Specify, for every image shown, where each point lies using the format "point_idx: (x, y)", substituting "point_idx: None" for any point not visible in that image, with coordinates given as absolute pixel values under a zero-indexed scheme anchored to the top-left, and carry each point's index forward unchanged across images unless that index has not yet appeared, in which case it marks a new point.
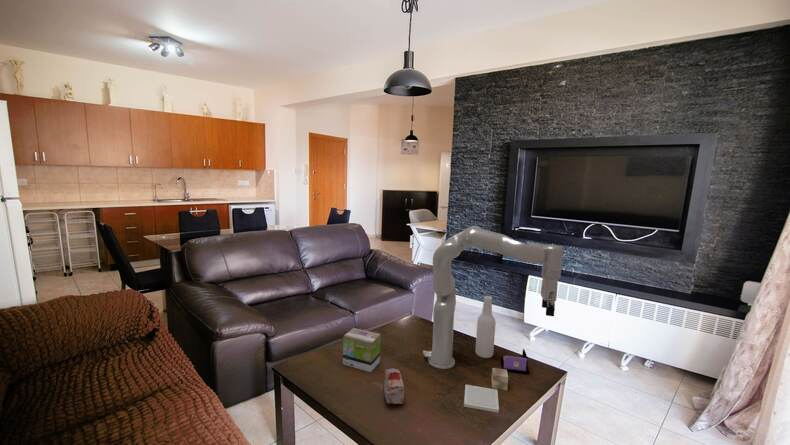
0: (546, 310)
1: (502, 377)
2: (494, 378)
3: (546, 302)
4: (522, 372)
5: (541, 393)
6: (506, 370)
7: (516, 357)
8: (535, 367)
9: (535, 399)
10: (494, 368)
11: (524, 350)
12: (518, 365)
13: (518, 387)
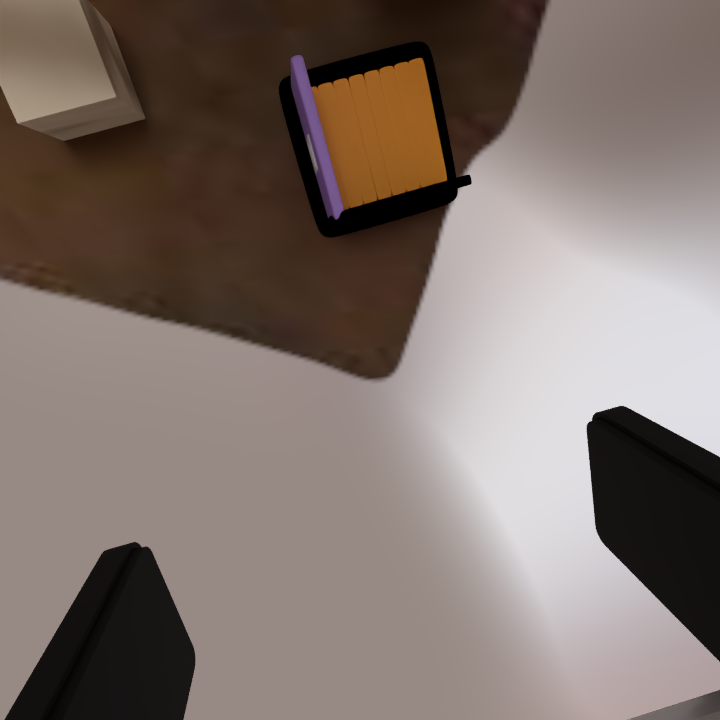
0: (49, 645)
1: (3, 83)
2: None
3: (686, 561)
4: (309, 201)
5: (157, 317)
6: (103, 98)
7: (317, 144)
8: (408, 263)
9: (79, 296)
10: (72, 2)
11: (449, 187)
12: (315, 170)
13: (137, 199)
